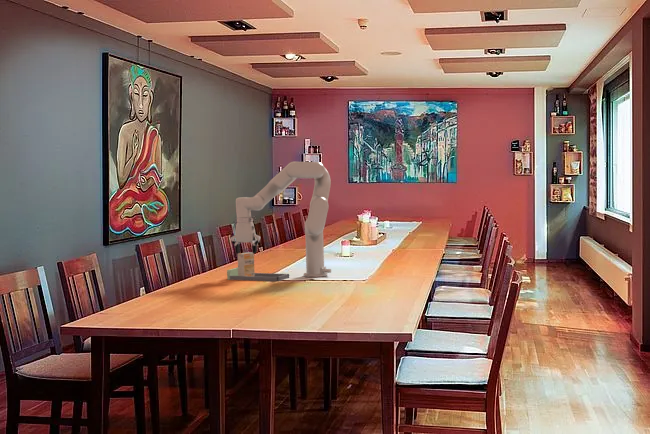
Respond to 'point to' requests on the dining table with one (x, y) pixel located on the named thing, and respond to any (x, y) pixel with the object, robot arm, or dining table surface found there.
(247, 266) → the supplement box
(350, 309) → the dining table surface
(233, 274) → the trap channel
